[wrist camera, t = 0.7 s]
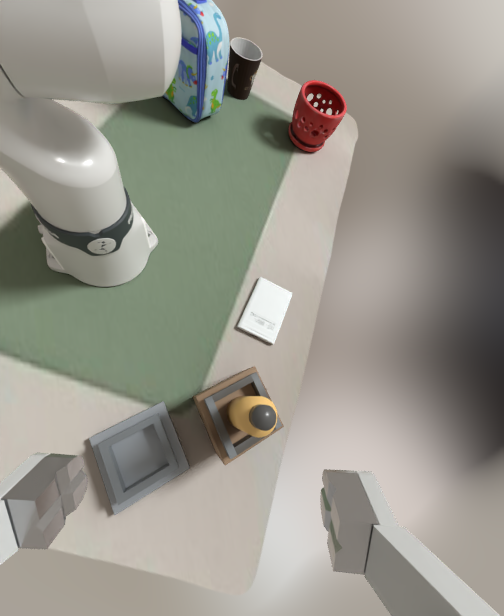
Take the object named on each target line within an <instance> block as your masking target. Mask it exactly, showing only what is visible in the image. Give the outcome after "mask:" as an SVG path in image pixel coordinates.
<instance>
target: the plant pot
mask: <svg viewBox="0 0 504 616" xmlns="http://www.w3.org/2000/svg"><path fill="white" fill-rule="evenodd" d="M310 93H312V94H313V95H314V96H313V99H312V100H311V101H308V100H307V96H308V95H309V94H310ZM317 94H321V98H319V99H318V98H317ZM323 100H325V101H326V102H325V104H323V103H322V101H323ZM330 100H331V101H332V104H329V101H330ZM315 102H318V106H317V107H314V106H313V105H314V103H315ZM328 108H331V109H332V115H327V114H326V111H327V109H328ZM346 108H347V107H346V103H345V100H344V98H343V97H342V95H341V94H340V93H339V92H338V91H337V90H336V89H335V88H333V87H332V86H330V85H328V84H326V83H324V82H320V81H315V80H313V81H308V82H306V83H305V84H304V85H303V86H302V88H301V90H300V93H299V95H298V98H297V101H296V104H295V108H294V111H293V118H292V122H291V123H290V125H289V136H290V138H291V140H292V142H293V143H294V144H295V145H296V146H297V147H299V148H300V149H302V150H304V151H308V152H315V151H318V150H320V149H321V148H322V147H323V146H324V143H325V140H326V139H327V138H329V137H330V136H331V134H332V133H333V132H334V131H335V129H336V127H337V126H338V125H339V123H340V122H341V120H342V118H343V117H344V115H345V113H346ZM321 109H323V110H324V111H323V112H320V110H321ZM337 110H339V112H338V114H337V115H336V113H337Z"/></svg>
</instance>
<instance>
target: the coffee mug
mask: <svg viewBox="0 0 504 616" xmlns="http://www.w3.org/2000/svg"><path fill="white" fill-rule="evenodd" d="M262 56H263V55H262V51H261V50H260V48H259V47H258V46H257V45H256V44H254V43H253V42H251V41H249V40H247V39H244V38H233V39H232V40H231V42H230V55H229V70H228V85H227V90H228V92H229V94H230V95H231V96H233V97H234V98H237V99H240V100H244V99H247V98H248V96H249V93H250V90H251V87H252V84H253V82H254V79H255V76H256V73H257V70H258V68H259V65H260V62H261V59H262Z"/></svg>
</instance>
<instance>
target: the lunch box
mask: <svg viewBox="0 0 504 616" xmlns="http://www.w3.org/2000/svg"><path fill="white" fill-rule="evenodd" d="M178 5H179V11H180V18H181V33H182V39H181V53H180V58H179V64H178V67H177V70H176V74H175V76H174V78H173V81H172V83H171V84H170V86H169V88H168V89H167V91H166V92H165V93H164V95H163V97H165V98H166V99H168V100H169V101H170V102H171V103H172V104H173V105H174V106H175V107H176V108H177V109H178V110H179V111H180V112H181V113H182V114H183V115H184V116H186V117H187V118H188V119H190V120H191V121H193V122H199V121H200V119H202V118H204V117H207V116H210V115H214V114H216V113H218V112H219V110H220V108H221V105H222V100H223V95H224V88H225V82H226V73H227V65H228V56H229V33H228V28H227V24H226V21H225V19H224V17H223V15H222V13H221V11H220V10H219V8H218V7H217V6H216V5H215V4H214V2H212V0H178Z"/></svg>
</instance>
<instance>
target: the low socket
mask: <svg viewBox="0 0 504 616" xmlns="http://www.w3.org/2000/svg"><path fill="white" fill-rule="evenodd" d="M89 440H90V443H91V446H92V449H93V452H94V455H95V458H96V461H97V464H98V467H99V470H100V473H101V476H102V479H103V482H104V485H105V488H106V491H107V494H108V497H109V500H110V503H111V506H112V509H113V512H114V515H116V514H118V513H119V512H121V511H122V510H124V509H126V508H127V507H129V506H130V505H132V504H134V503H135V502H137V501H138V500H140V499H141V498H143V497H145V496H146V495H148V494H149V493H151V492H153V491H154V490H156V489H157V488H159V487H161V486H162V485H164V484H165V483H167V482H169V481H170V480H172V479H173V478H175V477H177V476H178V475H180V474H181V473H183V472H185V471H186V470H188V469H189V468H190V467H189V464H188V462H187V459H186V456H185V454H184V451H183V449H182V446H181V444H180V441H179V439H178V436H177V434H176V431H175V429H174V426H173V424H172V421H171V419H170V416H169V414H168V411H167V409H166V406H165V404H164V401H163V402H161V403H159V404H157V405H155V406H153V407H151V408H149V409H147V410H145V411H143V412H141V413H139V414H137V415H135V416H133V417H131V418H129V419H127V420H125V421H123V422H121V423H119V424H117V425H115V426H113V427H111V428H109V429H107V430H105V431H103V432H101V433H99V434H97V435H95V436H93V437H91V438H89Z"/></svg>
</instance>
